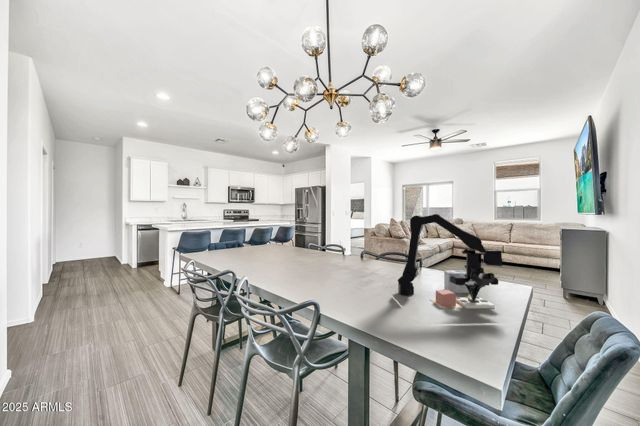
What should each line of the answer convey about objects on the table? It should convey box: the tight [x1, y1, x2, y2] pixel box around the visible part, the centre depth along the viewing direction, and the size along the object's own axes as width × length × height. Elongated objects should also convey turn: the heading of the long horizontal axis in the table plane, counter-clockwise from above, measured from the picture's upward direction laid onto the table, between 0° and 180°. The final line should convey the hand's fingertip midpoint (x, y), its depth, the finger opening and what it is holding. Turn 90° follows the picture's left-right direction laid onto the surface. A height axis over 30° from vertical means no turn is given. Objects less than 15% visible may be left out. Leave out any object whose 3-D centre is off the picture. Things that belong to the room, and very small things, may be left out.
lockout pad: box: [429, 299, 464, 309], centre depth 118 cm, size 10×10×1 cm
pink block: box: [435, 289, 457, 306], centre depth 118 cm, size 6×6×5 cm
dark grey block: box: [468, 299, 479, 303], centre depth 118 cm, size 3×3×2 cm
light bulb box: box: [443, 269, 470, 294], centre depth 137 cm, size 11×7×11 cm, turn 84°
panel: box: [456, 296, 496, 309], centre depth 118 cm, size 12×10×2 cm
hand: (473, 299), depth 118 cm, fingers closed
